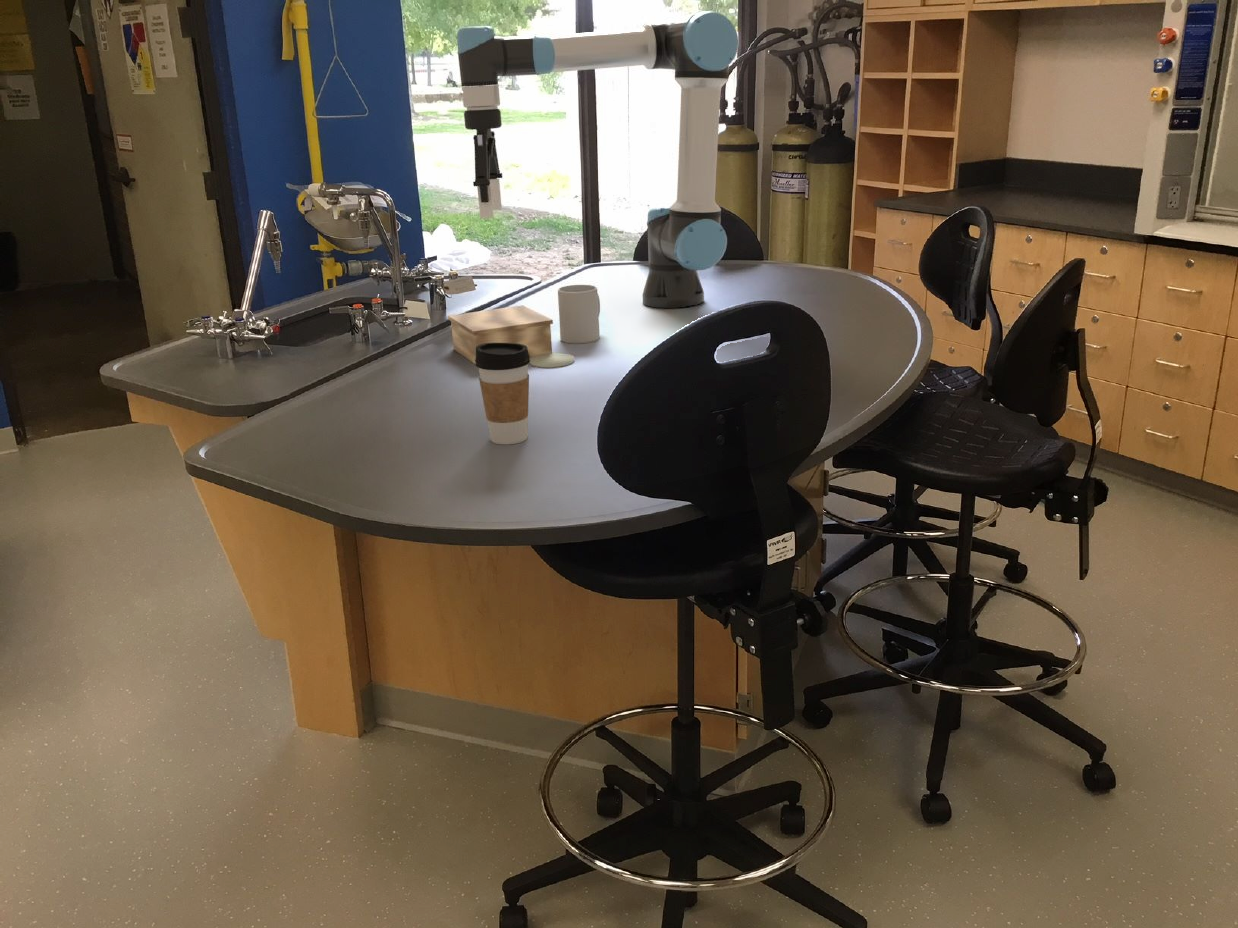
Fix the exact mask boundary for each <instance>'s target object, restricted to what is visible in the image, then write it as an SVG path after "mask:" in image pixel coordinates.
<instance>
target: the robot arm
mask: <svg viewBox="0 0 1238 928" xmlns="http://www.w3.org/2000/svg"><path fill="white" fill-rule="evenodd" d="M456 36H457V37H456V40H457V52H456V53H457V57H458V66H459V77H460V86H461V91H460V92H459V94H458V95H459V97H460V98H462V104H463V108H465V109H466V110H464V112H463V118H464V119H463V120H464V127H465V129H466V130H470V131H471V130H472V131H473V130H476V134H474V135H473V144H474V177H475V178H474V181H472V182H473V187H477V196H478V197H477V198H478V206H479V207H478V208H479V217H480V218H479V219H481V220H483V219H485V220H486V219H487V220H488V219H494V218H495V216H494V215H495V214H494V211H502V210H503V209H502V208H503V206H502V196H501V185H500V183H501V182H500V179H503V173H502V172H501V171H500V166H499V159H498V152H497V151H498V150H497V147H496V143H497V142H496V137H495V135H496V133H495V131H494V130H492V129H499V128H501V127H502V124H503V123H502V116H501V114H502V112H501V111H502V110H500V108H498V107H499V106H500V105H501V98H500V87H499V86H500V85H499V79H498V78H499V77H515V76H540V75H548V74H549V75H550V73H560V72H572V71H573V72H575V71H576V72H577V71H587V70H597V69H598V70H601V69H609V68H621V67H622V68H623V67H635V66H644V67H645V69H646V70H657V69H659V70H660V69H661V70H674V80H675V81H676V83H677V84H678V85H679V86H680V92H681V93H680V111H679V113H680V115H679V136H678V137H679V140H678V162H677V163H678V164H677V167H678V168H677V187H676V188H677V190H676V191H677V192H676V200H675V202H673V204H671V206H670V207H659V208H658V207H657V208H656V207H655V208H651V209H650V210H649V211H648V212H647V221H646V226H647V249H648V251H647V253H648V254H647V255H648V275H647V278H646V280H645V284H644V288H643V292H642V304H643V305H645V306H648V307H651V308H657V309H659V308H660V309H679V307H682V308H687V307H686V306H690V307H692V306H691V305H695V306H698V304H699V305H700V303H701V302H703V301H704V302H705V291H704V287H703V286H702V283H701V279H700V277H699V273H698V271H706V270H708V269H711V268H712V267H714V266H715V265H717V264H718V263H719V262H720V261H721V259H722V258H723V256H724V254H725V253H726V250H727V245H728V236H727V234H726V231H725V229H724V227H723V226H722V224H721V220H722V219H721V217H722V215H721V214H722V208H721V207H720V206H719V205H718V204H717V203H716V185H717V184H716V183H717V181H716V180H717V162H718V143H719V125H720V123H719V122H720V110H721V108H720V106H721V89H722V87H723V86H725V84H726V83H728V81H729V69H730V64H731V63H732V62H733V61H734V60H735V58H736V56H737V54H738V50H739V49H738V48H739V36H738V31H737V30H736V27H735V26H734V24H733V22H732V21H731V20H730V19H729V18H728V17H727V16H725V15H724V14H722V13H720V12H717V11H710V10H705V11H698V12H694V13H690V14H683V15H680V16H679V15H678V16H677V17H673V18H670V19H667V20H663V21H658V22H657V21H655V22H647V23H644V25H642V27H641V28H633V29H632V28H630V29H620V30H619V29H618V30H605V31H604V30H603V31H592V32H580V33H579V32H578V33H567V34H566V33H565V34H553V35H544V34H543V35H542V34H541V35H540V34H532V35H531V34H530V35H529V34H528V35H513V36H512V35H511V36H496V34H495V30H494V27H492V26H490V25H489V26H487V25H485V26H481V25H480V26H478V25H477V26H466V27H465V26H464V27H461V28H459V29H458V31H457V33H456ZM704 302H703V303H704ZM701 304H702V303H701Z"/></svg>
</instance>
